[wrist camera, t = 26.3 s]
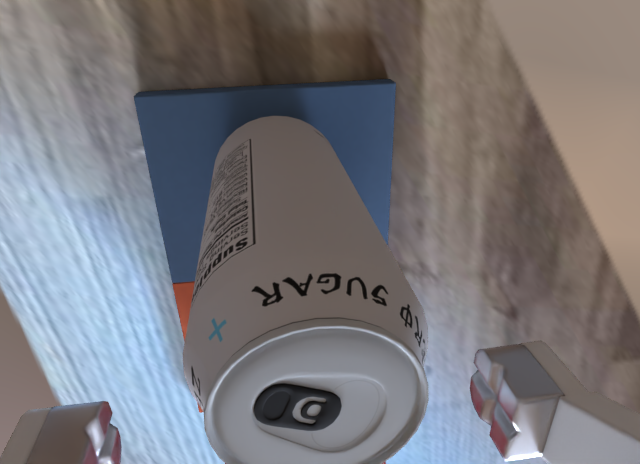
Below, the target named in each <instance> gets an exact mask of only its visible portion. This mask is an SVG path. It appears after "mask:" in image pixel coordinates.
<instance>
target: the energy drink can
mask: <svg viewBox="0 0 640 464" xmlns="http://www.w3.org/2000/svg"><path fill="white" fill-rule="evenodd" d="M427 349H428V326H427V322H426V318H425V314H424V310H423V308H422V306H421V304H420V303H419V301H418V299H417V297H416V295H415V294H414V292H413V290H412V288H411V287H410V285H409V283H408V281H407V279H406V278H405V276H404V274H403V272H402V271H401V269H400V267H399V265H398V263H397V262H396V260H395V258H394V256H393V255H392V253H391V251H390V249H389V247H388V246H387V244H386V242H385V240H384V239H383V237H382V235H381V233H380V231H379V230H378V228H377V226H376V224H375V222H374V221H373V219H372V217H371V215H370V214H369V212H368V210H367V208H366V206H365V205H364V203H363V201H362V199H361V198H360V196H359V194H358V192H357V190H356V189H355V187H354V185H353V183H352V182H351V180H350V178H349V176H348V174H347V173H346V171H345V169H344V167H343V166H342V164H341V162H340V160H339V158H338V157H337V155H336V153H335V151H334V150H333V148H332V146H331V144H330V143H329V141H328V140H327V139H326V138H325V136H324V135H323V134H322V133H321V132H320V131H318V130H317V129H316V128H314V127H313V126H312V125H310V124H308V123H306V122H304V121H302V120H300V119H296V118H292V117H288V116H268V117H262V118H258V119H255V120H253V121H250V122H248V123H246V124H244V125H243V126H241V127H239V128H238V129H236V130H235V131H234V132H233V133H232V134H231V135H230V136H229V137H228V138H227V139H226V141H225V142H224V144H223V145H222V146H221V148H220V150H219V152H218V155H217V157H216V160H215V165H214V170H213V176H212V182H211V188H210V194H209V200H208V206H207V212H206V218H205V224H204V230H203V236H202V242H201V248H200V254H199V260H198V266H197V272H196V278H195V284H194V290H193V296H192V302H191V308H190V314H189V320H188V326H187V332H186V338H185V344H184V350H183V365H184V375H185V377H186V380H187V383H188V386H189V389H190V391H191V394H192V395H193V397H194V398H195V400H196V401H197V403H198V404H199V406H200V407H201V409H202V410H203V412H204V424H205V431H206V434H207V437H208V440H209V443H210V445H211V446H212V448H213V449H214V451H215V452H216V454H217V455H218V457H219V458H220V459H221V460H222V461H223V462H225V463H226V464H382V463H383V462H385V461H386V460H388V459H389V458H391V457H392V456H394V455H395V454H396V453H397V452H398V451H399V450H400V449H401V448H402V447H404V446H405V445H406V444H407V442H408V441H409V440H410V439H411V437H412V436H413V435H414V434H415V432H416V431H417V429H418V427H419V425H420V423H421V421H422V420H423V418H424V415H425V411H426V407H427V404H428V382H427V378H426V375H425V371H424V368H423V366H424V362H425V358H426V354H427Z"/></svg>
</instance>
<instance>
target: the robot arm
mask: <svg viewBox="0 0 640 464" xmlns="http://www.w3.org/2000/svg"><path fill="white" fill-rule="evenodd" d="M474 364H475V365H476V367H477V369H478V370H477V371H476V373H475V374H474V375H473V376H472V377H471V384H470V392H471V398H472V402H473V405H474V408H475V410H476V412H477V414H478V415H479V417H480V419H482V420H483V421H485V422H486V423H488V424H489V425H491V431H490V437H491V438H492V440H493V442H494V444H495V445H496V447H497V449H498V451H499V452H500V454H501V456H502V457H503V459H504V461H510V460H518V459H525V458H532V457H539V456H542V459H543V460H544V461H546V462H547V463H548V464H640V414H639V413H637V412H635V411H633V410H631V409H629V408H627V407H625V406H623V405H621V404H619V403H617V402H615V401H613V400H611V399H609V398H607V397H605V396H603V395H601V394H599V393H597V392H588V391H587V389H586V388H585V387H584V386H583V385H582V384H581V383H580V381H579V380H578V379H577V378H576V377H575V376H574V375H573V374H572V372H571V371H570V370H569V369H568V368H567V367H566V366H565V364H564V363H563V362H562V361H561V360H560V359H559V358H558V357H557V355H556V354H555V353H554V352H553V351H552V350H551V349H550V348H549V346H548V345H547V344H546V343H544V342H542V341H534V342H527V343H521V344H514V345H507V346H500V347H493V348H487V349H480V350H478V351H477V353H476V354H475V359H474ZM111 417H112V411H111V408H110V406H109V403H108V402H105V401H101V402H92V403H83V404H74V405H65V406H56V407H52V408H43V409H34V410H28V411H27V412H26V413H24V414H23V415H22V416H21V418H20V420H19V422H18V424H17V426H16V428H15V430H14V432H13V433H12V435H11V437H10V440H9V441H8V443H7V445H6V447H5V449H4V451H3V453H2V455H1V457H0V464H120V462H121V440H120V435H119V431H118V428H117V427H115V426H113V425H112V424H110V420H111Z"/></svg>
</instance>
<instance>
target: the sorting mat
mask: <svg viewBox="0 0 640 464" xmlns="http://www.w3.org/2000/svg"><path fill="white" fill-rule="evenodd" d="M395 90H396V83H395V82H394V81H392V80H391V79H379V80H360V81H341V82H321V83H302V84H282V85H263V86H243V87H224V88H205V89H185V90H166V91H146V92H138V93H137V94H136V95H135V96H134V101H135V106H136V111H137V115H138V120H139V125H140V130H141V135H142V139H143V144H144V149H145V154H146V158H147V163H148V168H149V173H150V178H151V182H152V187H153V192H154V197H155V202H156V206H157V211H158V216H159V221H160V226H161V230H162V235H163V240H164V245H165V250H166V254H167V259H168V264H169V269H170V273H171V278H172V282H173V289H174V293H175V298H176V303H177V308H178V313H179V317H180V322H181V327H182V332H183V337H184V341H185V338H186V332H187V326H188V320H189V314H190V308H191V302H192V296H193V290H194V284H195V278H196V272H197V266H198V260H199V254H200V248H201V242H202V236H203V230H204V224H205V218H206V212H207V206H208V200H209V194H210V188H211V182H212V176H213V170H214V165H215V160H216V157H217V155H218V152H219V150H220V148H221V146H222V145H223V144H224V142H225V141H226V139H227V138H228V137H229V136H230V135H231V134H232V133H233V132H234V131H235V130H236V129H238V128H239V127H241V126H243V125H244V124H246V123H248V122H250V121H253V120H255V119H258V118H262V117H268V116H288V117H292V118H296V119H300V120H302V121H304V122H306V123H308V124H310V125H312V126H313V127H314V128H316V129H317V130H318V131H320V132H321V133H322V134H323V135H324V136H325V138H326V139H327V140H328V141H329V143H330V144H331V146H332V148H333V150H334V151H335V153H336V155H337V157H338V158H339V160H340V162H341V164H342V166H343V167H344V169H345V171H346V173H347V174H348V176H349V178H350V180H351V182H352V183H353V185H354V187H355V189H356V190H357V192H358V194H359V196H360V198H361V199H362V201H363V203H364V205H365V206H366V208H367V210H368V212H369V214H370V215H371V217H372V219H373V221H374V222H375V224H376V226H377V228H378V230H379V231H380V233H381V235H382V237H383V239H384V240H385V242H386V244H387V246H388V228H389V208H390V188H391V169H392V149H393V129H394V110H395ZM197 404H198V403H197ZM198 408H199V412H203V410H202V409H201V407H200V406H199V404H198Z"/></svg>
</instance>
